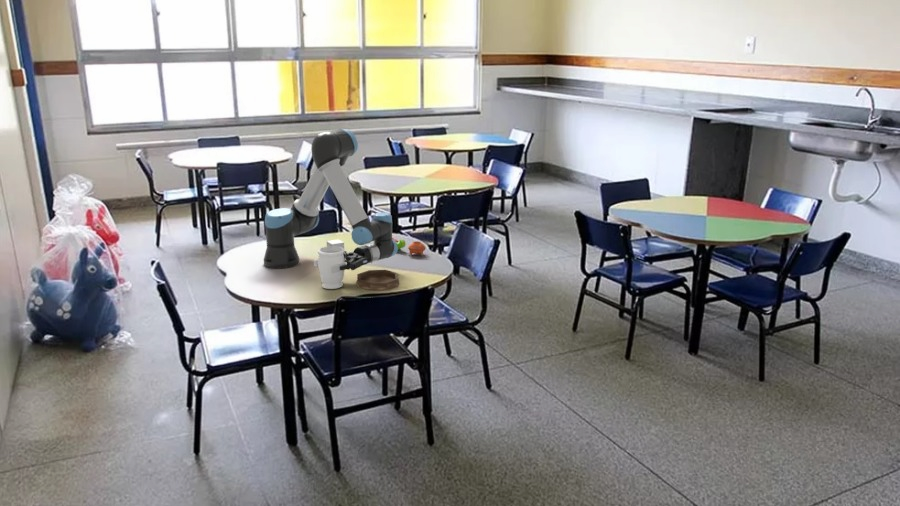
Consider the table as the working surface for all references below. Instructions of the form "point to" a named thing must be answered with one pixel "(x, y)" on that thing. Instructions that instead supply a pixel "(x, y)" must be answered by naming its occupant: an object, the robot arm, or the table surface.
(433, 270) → the table surface
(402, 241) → the toy crocodile
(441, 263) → the table surface
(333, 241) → the white cube
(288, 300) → the table surface
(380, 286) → the tray
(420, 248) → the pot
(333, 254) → the jar
